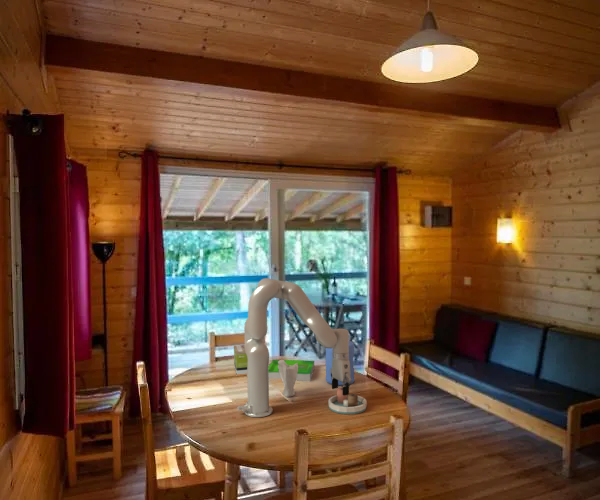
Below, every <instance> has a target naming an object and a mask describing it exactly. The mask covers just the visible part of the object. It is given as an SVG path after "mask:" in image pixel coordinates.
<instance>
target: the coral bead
mask: <svg viewBox="0 0 600 500" xmlns="http://www.w3.org/2000/svg"><path fill="white" fill-rule="evenodd" d="M336 394H337V402H338V403H341V404H343V400H345V399H347V395H343V387H338V388H337V393H336Z"/></svg>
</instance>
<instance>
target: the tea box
mask: <svg viewBox="0 0 600 500" xmlns="http://www.w3.org/2000/svg"><path fill="white" fill-rule="evenodd" d="M233 357H234V358H233V361H234V362H233V363H234V364H233V365H234V366H233V368H234V367H235V368H234V371H235V370H236V372H235V374H236V373H237V374H245V373H247V365H248V358H247V354H246V352H245V344H239V345H237V344H236V345H233Z"/></svg>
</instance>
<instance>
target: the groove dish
mask: <svg viewBox="0 0 600 500" xmlns="http://www.w3.org/2000/svg"><path fill="white" fill-rule="evenodd" d="M327 404H328V409H329V410H330V411H331V412H333V413H336V414H340V415H350V416H351V415H358V414H361V413H363V412H365V411H366V410H367V405H368V403H367V399H366V398H365V397H363V396H360V395H358V406H355V407H348V395H347V399H345V400H343V404H341V403H338V402H337V395H336V394H335V395H332V396H331V397H329V398H328V403H327Z"/></svg>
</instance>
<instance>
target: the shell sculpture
mask: <svg viewBox="0 0 600 500" xmlns="http://www.w3.org/2000/svg"><path fill="white" fill-rule="evenodd" d="M278 360H279V361H278V364H279V365H278V368H279V373H280V376H281V379H282V383H283V390H282V393H281V394H282V396H284V397H287V398H290V397H293V396H295V394H296V391H295V386H296V385H295V384H296V382H297V381H296V377H297V372H298V363H295V364H294V365H287V364H286V363H285V361H284V360H285V359H278ZM288 366H289V367H288Z"/></svg>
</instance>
